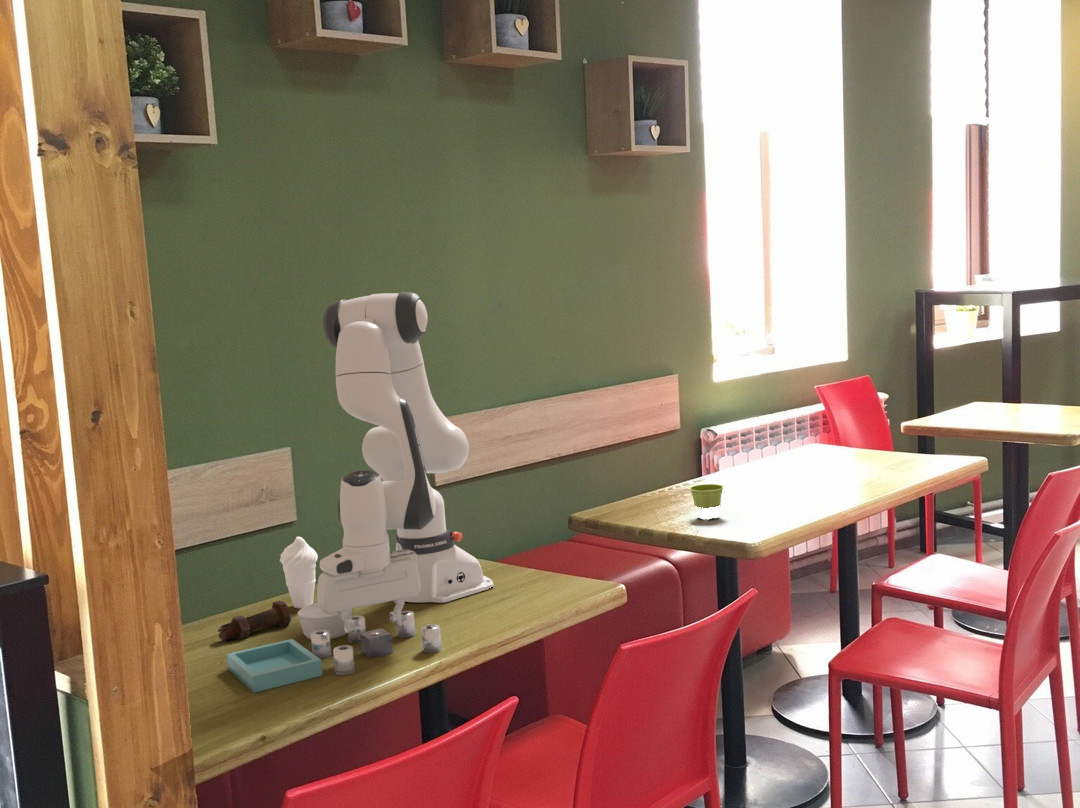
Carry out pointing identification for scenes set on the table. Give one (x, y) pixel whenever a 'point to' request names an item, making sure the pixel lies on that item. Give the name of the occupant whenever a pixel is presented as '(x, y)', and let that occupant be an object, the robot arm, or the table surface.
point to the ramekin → (321, 621)
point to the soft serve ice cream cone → (300, 572)
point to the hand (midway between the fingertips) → (372, 626)
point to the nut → (376, 643)
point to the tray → (274, 665)
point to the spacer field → (345, 652)
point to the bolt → (256, 622)
